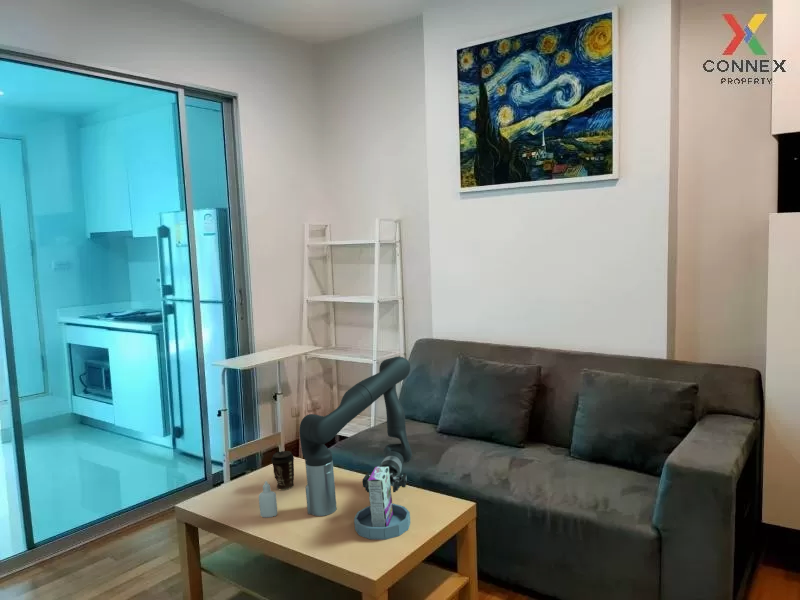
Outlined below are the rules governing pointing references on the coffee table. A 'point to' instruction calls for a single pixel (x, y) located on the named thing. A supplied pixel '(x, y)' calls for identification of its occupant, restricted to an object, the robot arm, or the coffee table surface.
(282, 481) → the coffee cup
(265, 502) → the eye dropper bottle
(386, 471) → the candy bar box
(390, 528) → the bowl
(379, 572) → the coffee table surface
